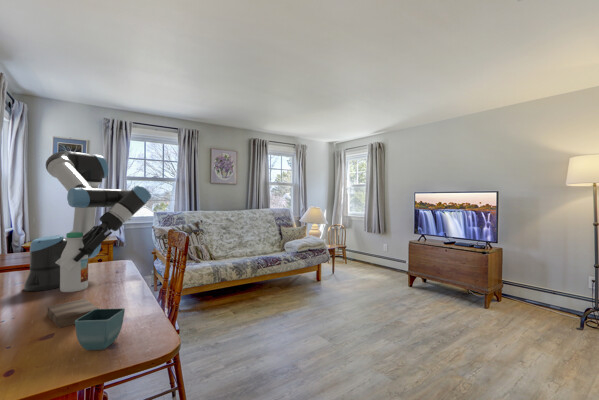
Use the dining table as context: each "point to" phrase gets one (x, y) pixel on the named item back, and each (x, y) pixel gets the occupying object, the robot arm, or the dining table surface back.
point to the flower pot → (99, 328)
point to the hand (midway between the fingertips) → (62, 266)
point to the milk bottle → (79, 273)
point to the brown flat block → (69, 312)
